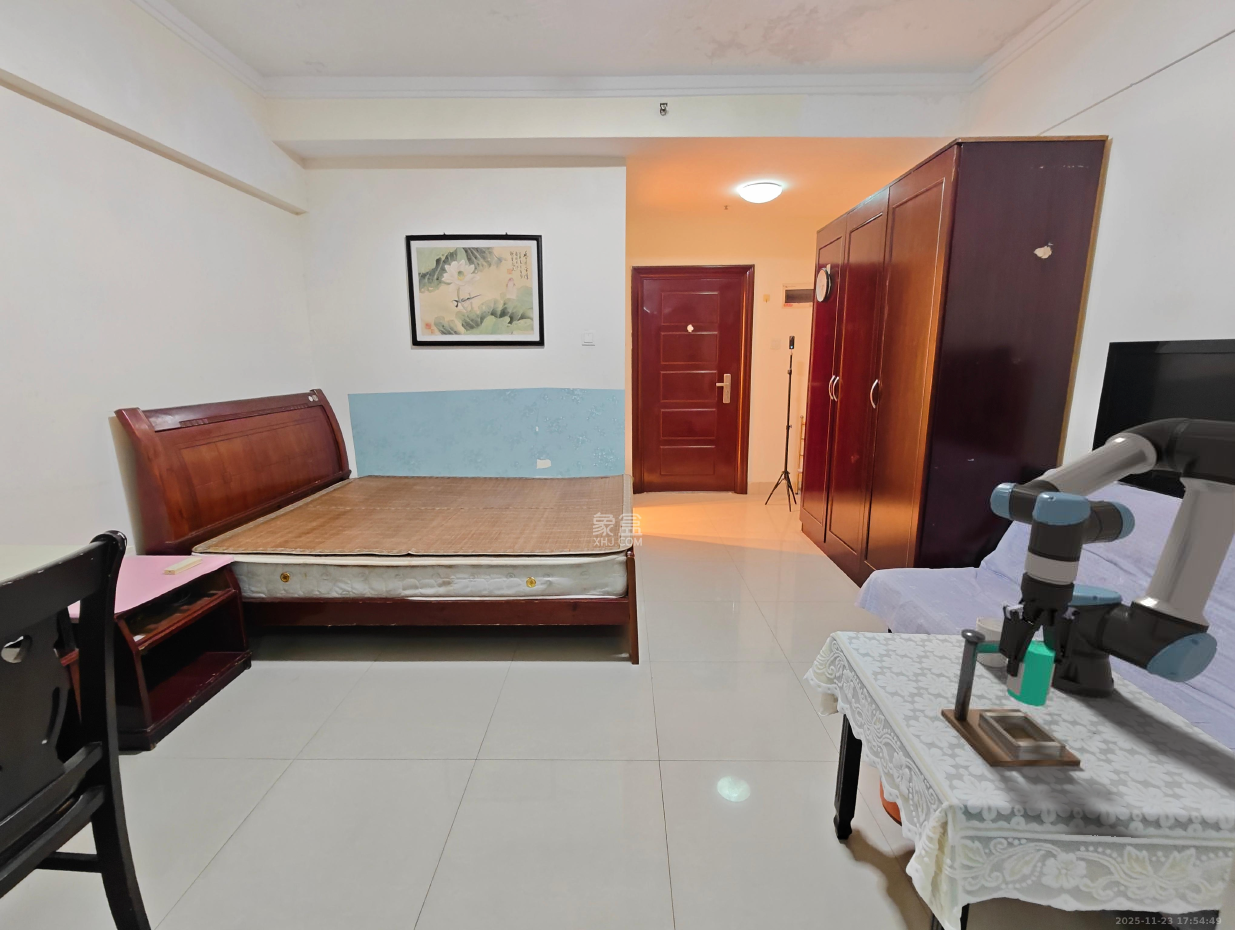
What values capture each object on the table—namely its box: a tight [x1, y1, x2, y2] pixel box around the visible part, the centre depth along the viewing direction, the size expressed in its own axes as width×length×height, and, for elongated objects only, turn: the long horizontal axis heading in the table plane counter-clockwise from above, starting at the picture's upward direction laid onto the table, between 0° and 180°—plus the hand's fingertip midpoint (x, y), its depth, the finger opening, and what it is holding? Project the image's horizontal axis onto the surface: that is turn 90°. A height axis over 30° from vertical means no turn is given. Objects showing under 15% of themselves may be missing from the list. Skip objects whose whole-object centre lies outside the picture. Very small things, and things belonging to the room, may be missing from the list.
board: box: [940, 708, 1082, 767], centre depth 106 cm, size 17×15×4 cm
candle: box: [1006, 638, 1055, 707], centre depth 101 cm, size 6×6×12 cm
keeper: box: [953, 628, 1044, 721], centre depth 109 cm, size 18×4×19 cm, turn 91°
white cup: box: [975, 616, 1008, 669], centre depth 134 cm, size 8×8×10 cm
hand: (1027, 690), depth 102 cm, fingers closed on candle, 5 cm apart
